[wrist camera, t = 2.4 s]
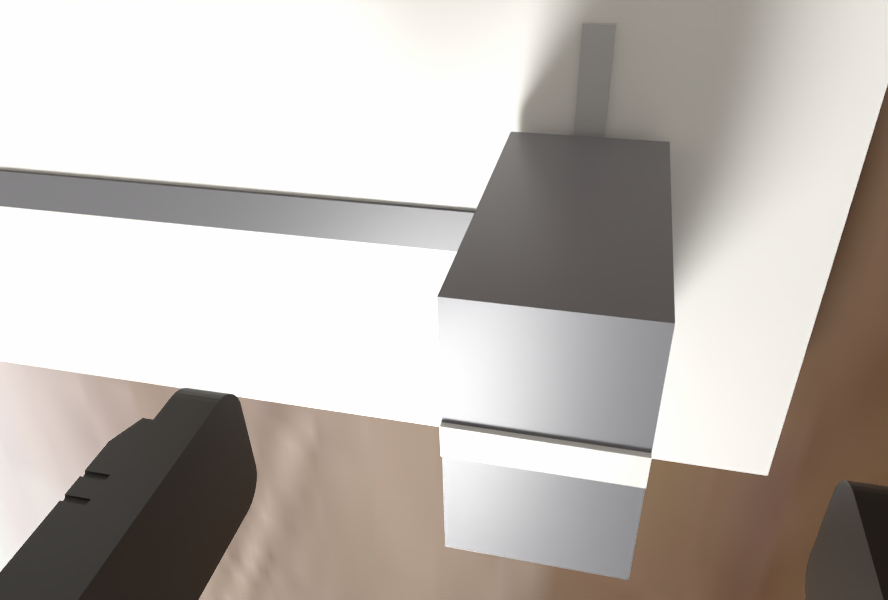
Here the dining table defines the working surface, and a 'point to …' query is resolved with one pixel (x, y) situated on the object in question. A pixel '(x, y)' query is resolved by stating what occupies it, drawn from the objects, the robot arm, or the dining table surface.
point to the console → (412, 185)
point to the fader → (557, 351)
